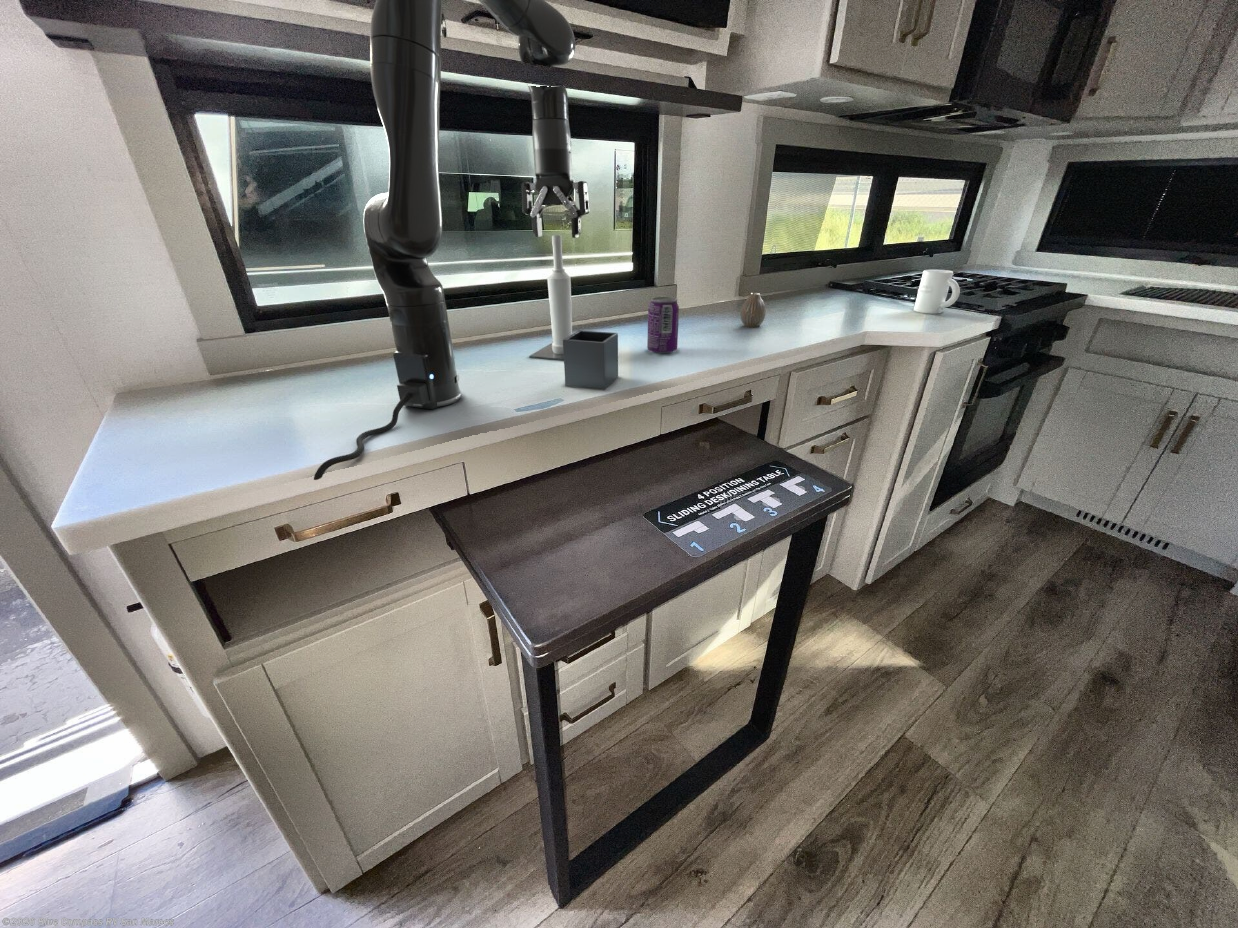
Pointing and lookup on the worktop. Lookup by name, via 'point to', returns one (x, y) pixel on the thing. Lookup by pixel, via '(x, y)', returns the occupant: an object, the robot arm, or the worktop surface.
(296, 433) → the worktop surface
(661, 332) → the beverage can
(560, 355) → the coaster
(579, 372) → the caddy
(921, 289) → the mug
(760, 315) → the vase
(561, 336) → the bottle
